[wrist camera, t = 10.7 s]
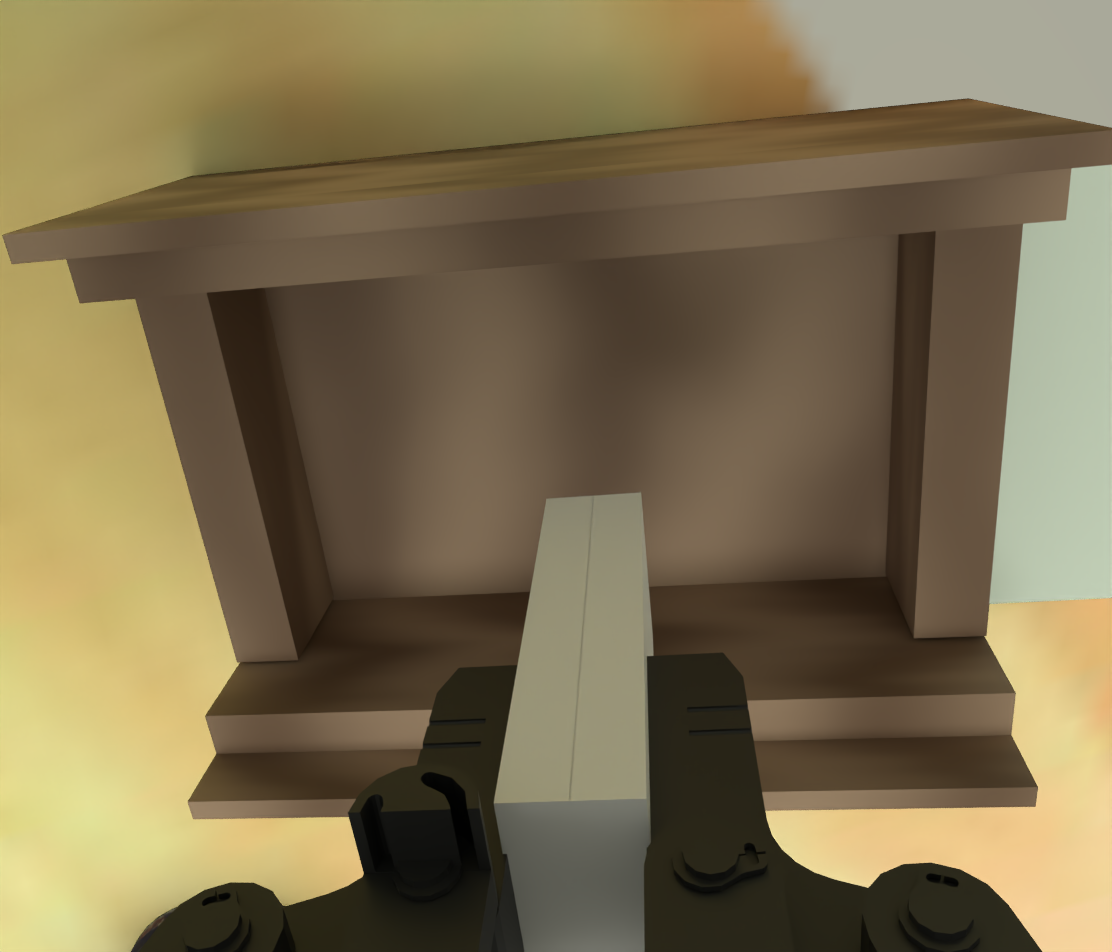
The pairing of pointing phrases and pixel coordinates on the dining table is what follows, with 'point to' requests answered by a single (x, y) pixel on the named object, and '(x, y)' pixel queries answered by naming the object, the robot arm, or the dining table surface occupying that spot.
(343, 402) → the box
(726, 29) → the dining table surface
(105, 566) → the dining table surface
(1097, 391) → the lid
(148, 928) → the dark blue barrel
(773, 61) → the dining table surface
